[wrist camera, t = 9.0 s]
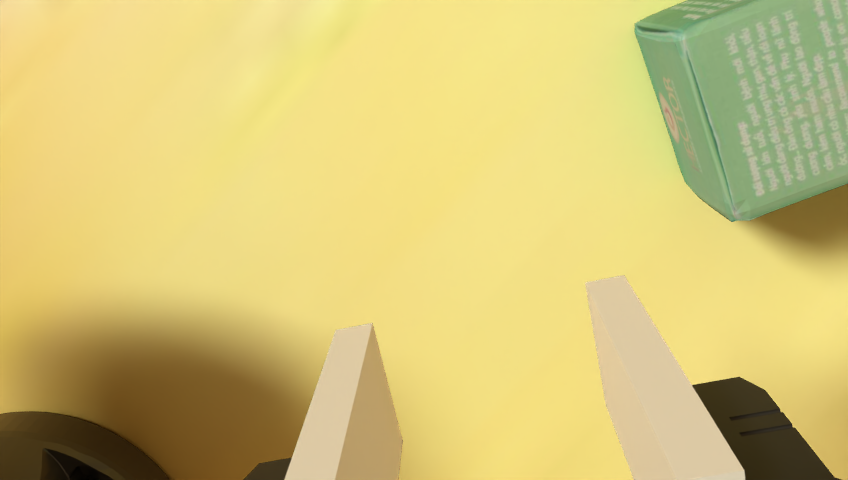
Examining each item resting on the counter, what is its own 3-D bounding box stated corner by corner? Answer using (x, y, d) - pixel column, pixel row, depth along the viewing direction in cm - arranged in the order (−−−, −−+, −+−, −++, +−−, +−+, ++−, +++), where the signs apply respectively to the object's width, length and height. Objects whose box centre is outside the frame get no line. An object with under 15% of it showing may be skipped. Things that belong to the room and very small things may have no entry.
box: (621, 24, 33) (671, 34, 26) (953, -115, 31) (1106, -146, 24) (675, 184, 35) (734, 235, 28) (990, 63, 33) (1141, 84, 26)
